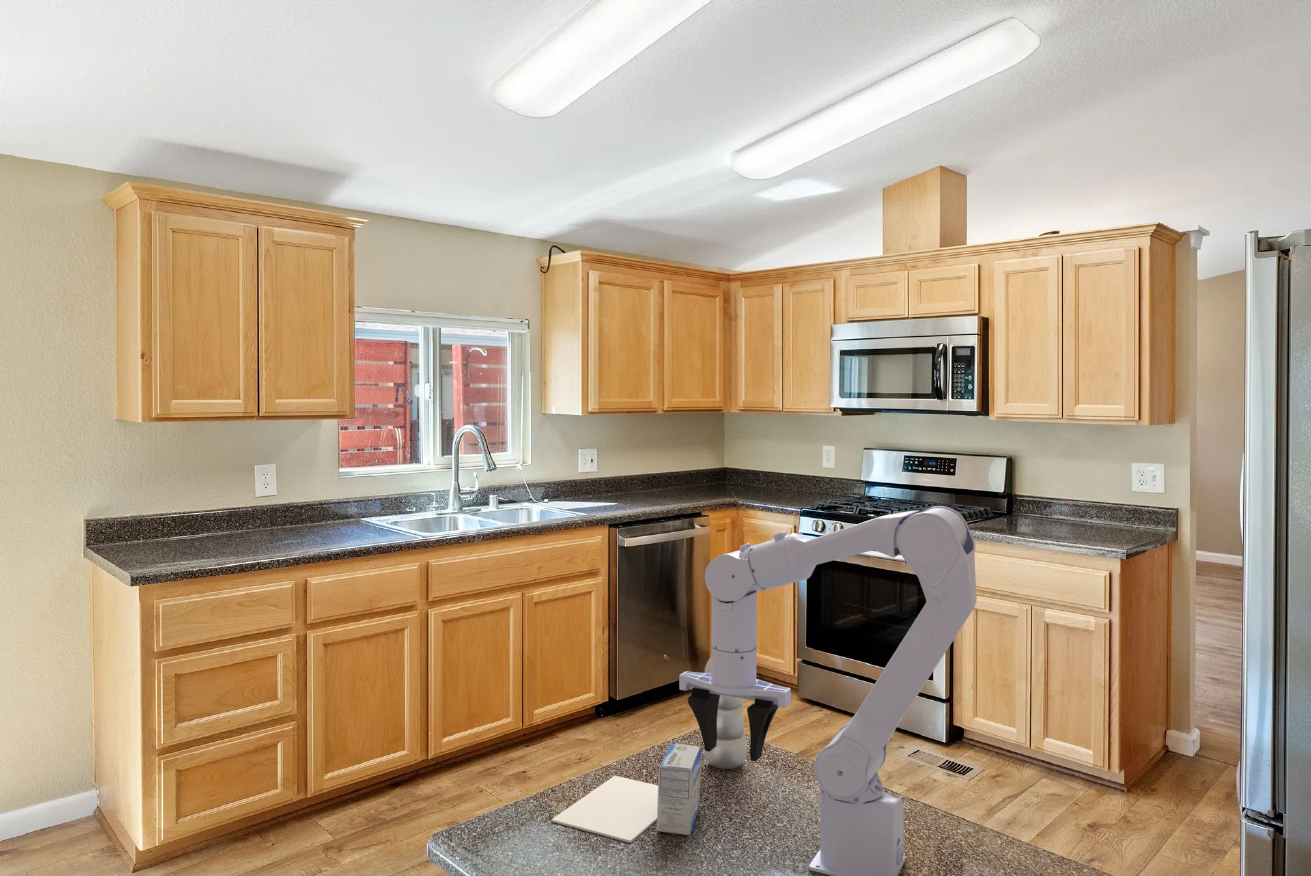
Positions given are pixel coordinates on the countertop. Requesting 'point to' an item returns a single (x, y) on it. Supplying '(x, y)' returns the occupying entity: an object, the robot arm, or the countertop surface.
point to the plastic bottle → (728, 733)
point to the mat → (614, 809)
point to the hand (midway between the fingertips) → (732, 753)
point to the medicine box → (679, 789)
